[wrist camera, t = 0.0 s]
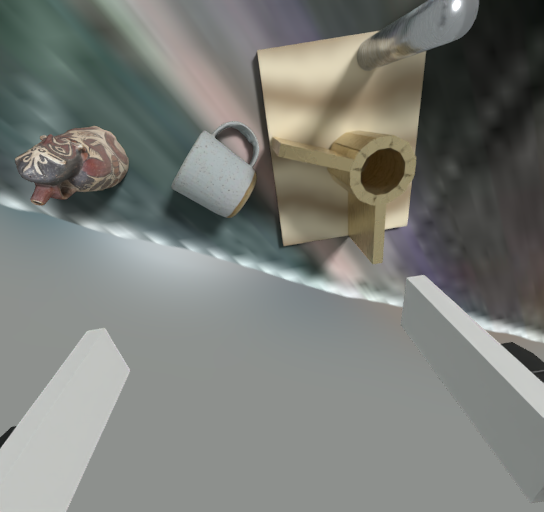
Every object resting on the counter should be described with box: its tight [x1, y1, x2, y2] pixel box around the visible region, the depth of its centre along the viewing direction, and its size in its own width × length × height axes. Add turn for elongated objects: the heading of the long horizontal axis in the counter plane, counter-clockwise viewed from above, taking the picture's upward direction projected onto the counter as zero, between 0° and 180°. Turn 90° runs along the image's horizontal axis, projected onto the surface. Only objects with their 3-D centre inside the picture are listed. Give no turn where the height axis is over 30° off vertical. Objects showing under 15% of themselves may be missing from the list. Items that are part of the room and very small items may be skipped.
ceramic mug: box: [171, 121, 259, 218], centre depth 32 cm, size 11×8×8 cm
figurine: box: [15, 126, 129, 205], centre depth 28 cm, size 7×7×12 cm
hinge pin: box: [357, 0, 479, 71], centre depth 24 cm, size 3×3×14 cm
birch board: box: [257, 31, 426, 246], centre depth 35 cm, size 24×19×1 cm
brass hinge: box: [271, 130, 416, 264], centre depth 33 cm, size 15×14×9 cm
